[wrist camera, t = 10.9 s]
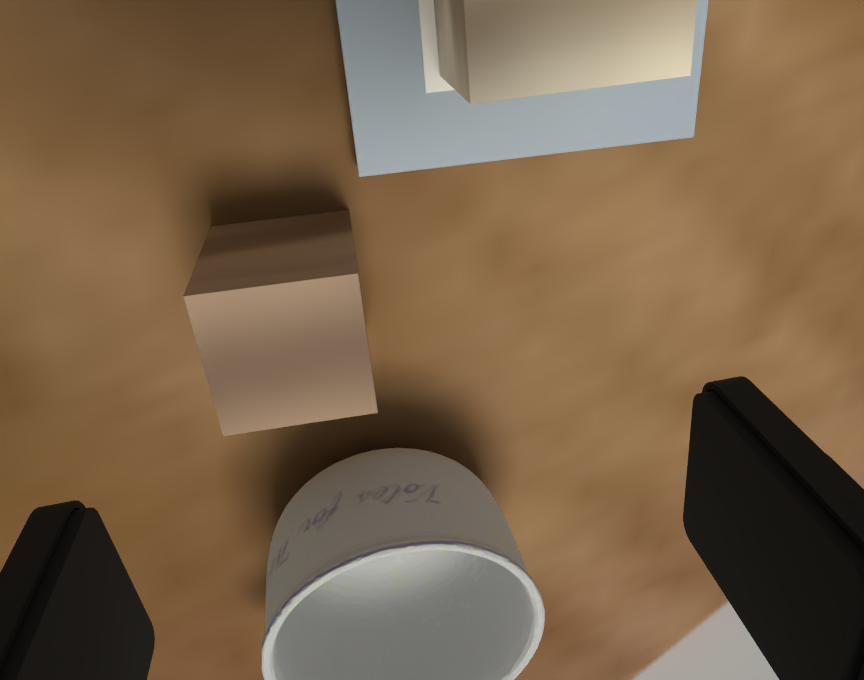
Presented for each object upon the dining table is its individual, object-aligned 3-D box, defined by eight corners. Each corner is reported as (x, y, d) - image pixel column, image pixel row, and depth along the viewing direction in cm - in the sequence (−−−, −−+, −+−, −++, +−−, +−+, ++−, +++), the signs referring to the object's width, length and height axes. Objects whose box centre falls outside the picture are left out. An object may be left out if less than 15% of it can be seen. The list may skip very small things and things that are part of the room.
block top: (211, 225, 25) (183, 296, 20) (349, 208, 25) (358, 273, 20) (240, 345, 27) (223, 435, 22) (366, 328, 28) (377, 412, 23)
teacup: (413, 369, 29) (444, 498, 22) (540, 512, 34) (598, 653, 27) (168, 539, 31) (127, 703, 25) (321, 649, 37) (323, 810, 30)
